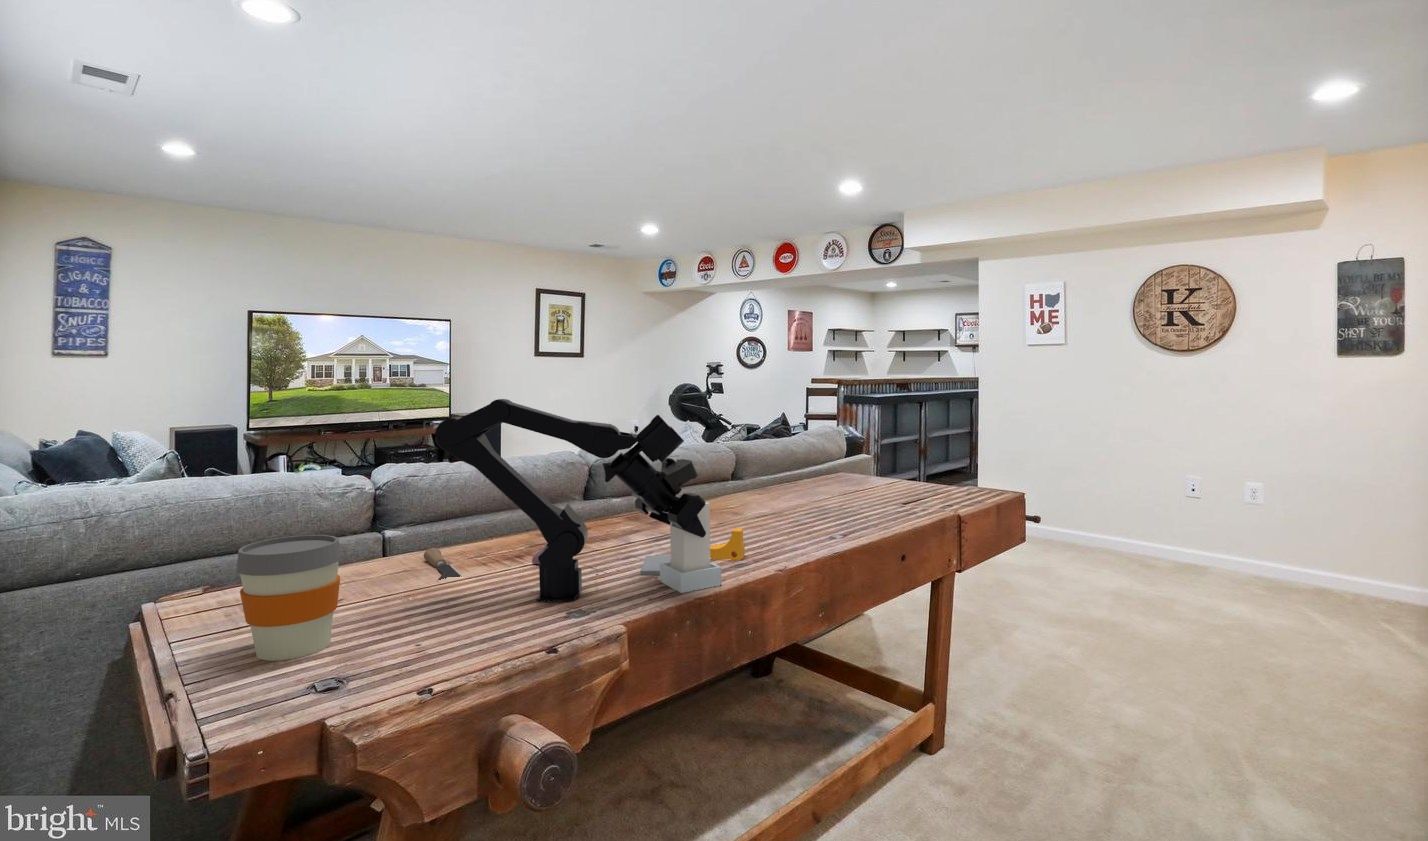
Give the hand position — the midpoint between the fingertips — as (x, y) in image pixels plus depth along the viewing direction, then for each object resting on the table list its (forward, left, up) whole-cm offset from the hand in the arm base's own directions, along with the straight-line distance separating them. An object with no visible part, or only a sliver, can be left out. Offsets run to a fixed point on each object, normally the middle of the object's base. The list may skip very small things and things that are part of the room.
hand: (696, 532), depth 124 cm
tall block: (-1, -1, -7) cm, 7 cm away
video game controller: (-32, +18, -10) cm, 38 cm away
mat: (-5, +11, -9) cm, 16 cm away
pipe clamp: (+4, +19, -10) cm, 22 cm away
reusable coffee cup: (-57, -30, -10) cm, 65 cm away
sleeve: (-1, -1, -9) cm, 10 cm away
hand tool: (-51, +8, -10) cm, 53 cm away
